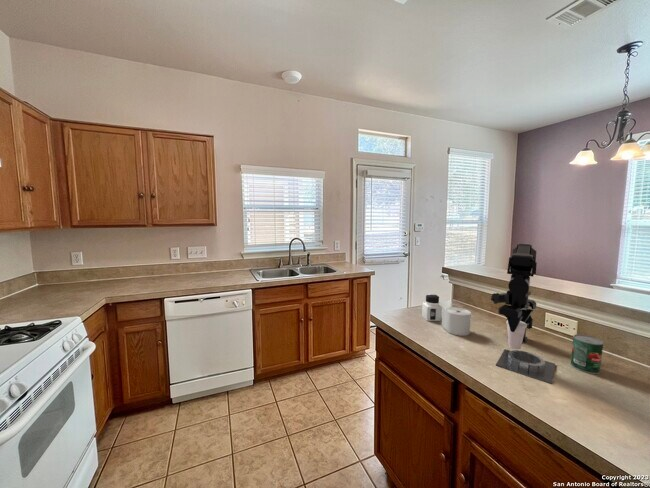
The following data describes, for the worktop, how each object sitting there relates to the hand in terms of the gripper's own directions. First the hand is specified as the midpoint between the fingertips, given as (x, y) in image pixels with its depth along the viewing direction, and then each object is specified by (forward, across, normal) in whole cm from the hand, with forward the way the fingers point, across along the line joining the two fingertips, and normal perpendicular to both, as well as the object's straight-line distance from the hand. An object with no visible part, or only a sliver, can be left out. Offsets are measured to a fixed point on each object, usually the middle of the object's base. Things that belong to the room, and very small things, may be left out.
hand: (516, 329), depth 101 cm
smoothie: (+7, 0, 0) cm, 7 cm away
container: (+13, -14, -44) cm, 48 cm away
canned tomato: (+13, -17, +17) cm, 27 cm away
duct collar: (+13, -1, +4) cm, 13 cm away
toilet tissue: (+13, -9, -28) cm, 32 cm away
